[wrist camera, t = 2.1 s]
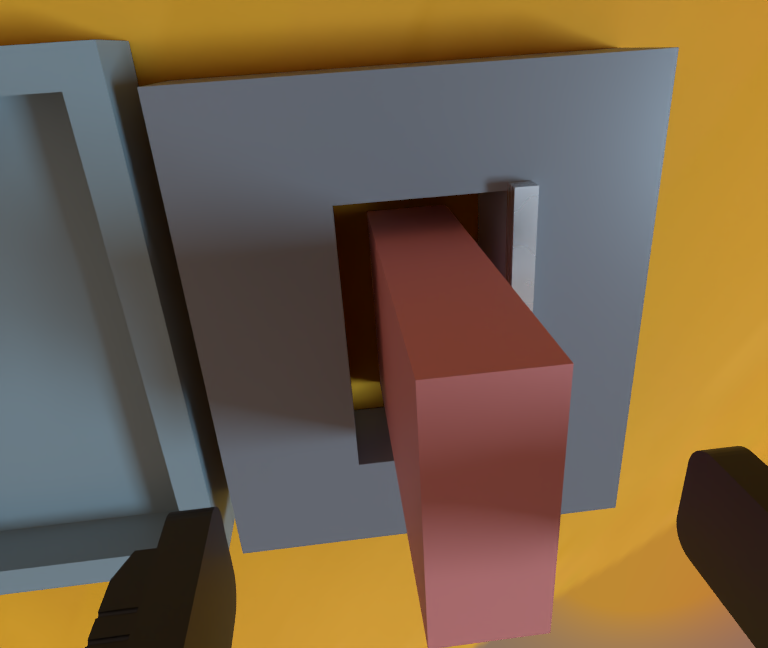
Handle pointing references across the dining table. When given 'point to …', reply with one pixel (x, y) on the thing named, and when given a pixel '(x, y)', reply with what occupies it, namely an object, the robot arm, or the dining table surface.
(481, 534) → the pink block
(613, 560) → the dining table surface
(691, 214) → the dining table surface
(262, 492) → the grey square-hole plate
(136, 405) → the tray
